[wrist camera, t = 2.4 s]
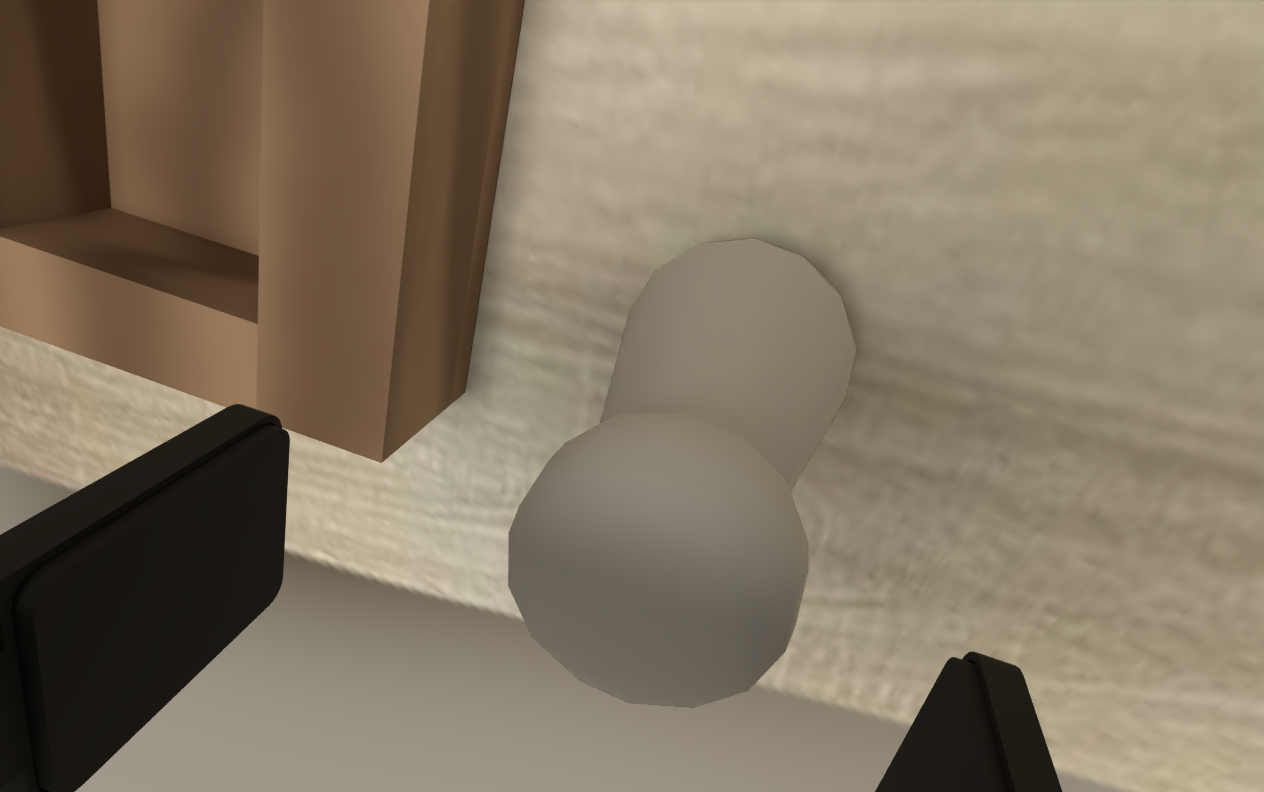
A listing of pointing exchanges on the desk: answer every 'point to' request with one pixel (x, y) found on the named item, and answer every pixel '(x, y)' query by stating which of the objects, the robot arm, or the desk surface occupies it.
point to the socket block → (258, 197)
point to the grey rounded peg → (689, 483)
